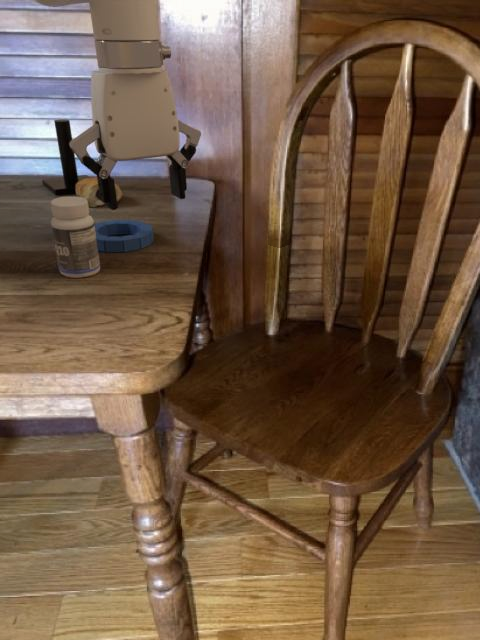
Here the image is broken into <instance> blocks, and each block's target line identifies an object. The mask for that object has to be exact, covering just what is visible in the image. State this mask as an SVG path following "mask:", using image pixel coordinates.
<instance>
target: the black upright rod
mask: <svg viewBox="0 0 480 640" xmlns="http://www.w3.org/2000/svg"><path fill="white" fill-rule="evenodd" d="M54 127H55V133H56V141H57V145H58V151H59V159H60V164H61V165H60V166H61V170H62V177H52V178H42V179H41V181H42V182H41V183H42V185H43V186H44V187H45V188H46V189H47V190H48V191H50V192H51V193H53V195H54V196H63V195H65V196H66V195H72V194H76V183H77V182H79V181H81V180H83V179H86V178H92V177H91V176H89V175H88V174H82V175H78V174H79V173H78V168H77V161H76V154H75V153H74V152H73V150H72V149H71V147H70V145H69V143H70V141H72V140H73V134H72V128H71V122H70V119H67V118H65V119H63V118H59V119H54Z"/></svg>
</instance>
